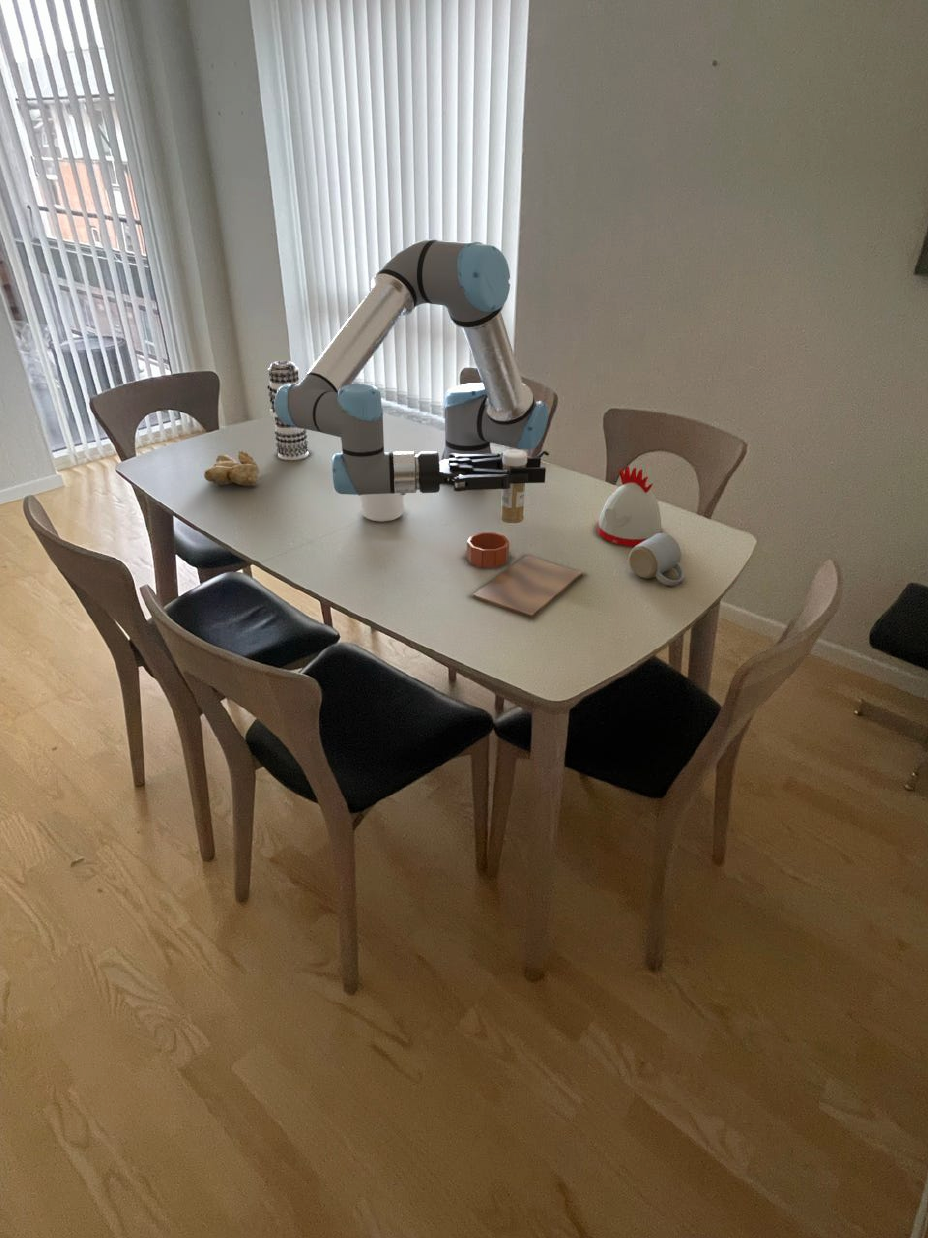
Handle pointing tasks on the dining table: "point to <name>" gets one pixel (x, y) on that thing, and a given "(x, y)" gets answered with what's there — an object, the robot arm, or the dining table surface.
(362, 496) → the cup
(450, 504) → the dining table surface
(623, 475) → the kitchen timer
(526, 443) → the robot arm
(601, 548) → the dining table surface
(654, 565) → the ceramic mug
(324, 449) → the dining table surface
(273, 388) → the patterned tall cylinder
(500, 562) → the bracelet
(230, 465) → the ginger root
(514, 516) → the sprinkles bottle
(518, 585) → the wooden board
